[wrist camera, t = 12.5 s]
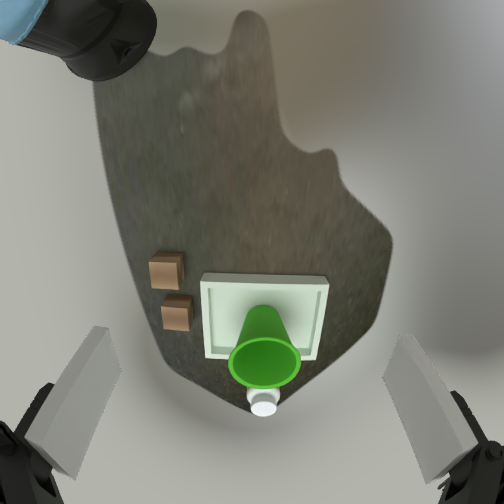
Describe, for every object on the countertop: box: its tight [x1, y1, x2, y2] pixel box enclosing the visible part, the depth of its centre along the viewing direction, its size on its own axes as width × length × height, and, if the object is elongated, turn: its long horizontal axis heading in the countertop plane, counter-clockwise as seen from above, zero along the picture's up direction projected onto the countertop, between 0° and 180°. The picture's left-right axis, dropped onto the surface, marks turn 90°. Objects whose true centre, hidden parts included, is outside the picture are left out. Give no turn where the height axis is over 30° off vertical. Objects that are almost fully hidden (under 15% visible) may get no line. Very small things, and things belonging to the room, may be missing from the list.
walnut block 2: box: [161, 294, 194, 331], centre depth 43 cm, size 4×4×4 cm
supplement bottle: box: [247, 387, 280, 416], centre depth 44 cm, size 5×5×10 cm
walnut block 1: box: [149, 252, 185, 290], centre depth 40 cm, size 4×4×4 cm
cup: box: [228, 305, 301, 389], centre depth 39 cm, size 9×9×11 cm
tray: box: [200, 273, 329, 360], centre depth 43 cm, size 14×18×3 cm
